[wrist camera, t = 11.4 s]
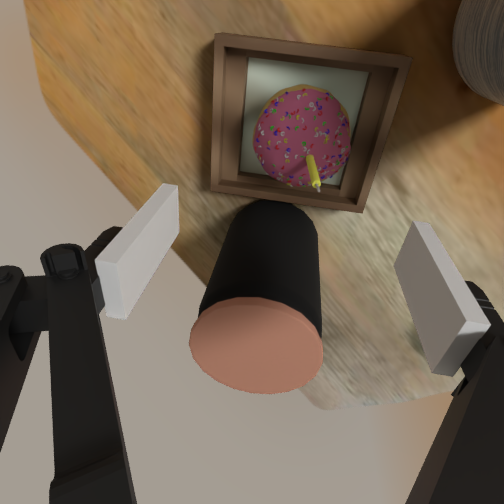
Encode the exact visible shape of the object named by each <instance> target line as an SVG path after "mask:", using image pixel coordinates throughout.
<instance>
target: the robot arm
mask: <svg viewBox="0 0 504 504" xmlns="http://www.w3.org/2000/svg"><path fill="white" fill-rule="evenodd" d="M178 234H179V206H178V186H177V185H171V184H164V183H163V184H162V185H161V186H160V187H159V188H158V189H157V191H156V192H155V193H154V194H153V195H152V196H151V197H150V198H149V200H148V201H147V202H146V203H145V204H144V205H143V206H142V207H141V208H140V210H139V211H138V212H137V213H136V214H135V215H134V216H133V218H132V219H131V220H130V221H129V222H128V223H127V224H126V225H125V226H124V228H122V227H115V226H113V227H111V228H109V229H107V230H105V231H103V232H102V233H101V235H100V236H99V237H98V238H97V240H95V241H94V242H93V243H92V244H91V245H90V246H89V247H88V248H87V249H86V250H85V251H84V250H83V249H82V247H81V246H79V245H76V244H70V243H68V244H59V245H55V246H52V247H50V248H49V249H46V250H45V251H44V252H43V253H42V254H41V257H40V260H41V263H42V265H43V269H44V272H45V276H27V277H25V276H24V274H23V271H22V270H21V269H20V268H19V267H16V266H9V265H6V266H1V267H0V452H1V448H2V446H3V443H4V440H5V437H6V434H7V431H8V428H9V425H10V422H11V419H12V416H13V413H14V410H15V407H16V404H17V402H18V398H19V396H20V392H21V390H22V386H23V383H24V381H25V378H26V375H27V372H28V369H29V366H30V363H31V360H32V357H33V354H34V351H35V348H36V345H37V342H38V340H39V337H40V334H41V331H49V350H50V370H51V371H50V373H51V396H52V418H53V442H54V465H55V476H54V479H53V481H52V482H51V484H50V490H49V504H137V501H136V497H135V492H134V487H133V482H132V477H131V472H130V467H129V462H128V457H127V452H126V447H125V442H124V437H123V432H122V427H121V422H120V417H119V412H118V407H117V402H116V397H115V392H114V387H113V382H112V377H111V372H110V367H109V362H108V357H107V352H106V347H105V342H104V337H103V332H102V327H101V322H100V318H99V313H100V312H101V310H102V309H103V307H104V306H105V311H106V315H107V317H111V318H117V319H123V320H126V319H127V317H128V316H129V314H130V312H131V311H132V309H133V307H134V306H135V304H136V303H137V301H138V299H139V297H140V296H141V294H142V293H143V291H144V289H145V288H146V286H147V284H148V283H149V281H150V280H151V278H152V276H153V275H154V273H155V271H156V270H157V268H158V266H159V265H160V263H161V261H162V260H163V258H164V257H165V255H166V253H167V252H168V250H169V248H170V247H171V245H172V243H173V242H174V240H175V238H176V237H177V235H178ZM394 268H395V271H396V274H397V276H398V279H399V282H400V285H401V288H402V291H403V293H404V296H405V299H406V302H407V305H408V307H409V310H410V313H411V316H412V319H413V322H414V324H415V327H416V330H417V333H418V336H419V338H420V341H421V344H422V347H423V350H424V353H425V355H426V358H427V361H428V364H429V367H430V369H431V372H432V373H435V374H440V375H446V376H452V377H453V376H454V375H455V373H456V372H457V371H458V369H459V368H460V367H461V368H462V370H463V372H464V374H465V377H464V378H463V380H462V381H461V382H460V384H459V385H458V386H457V387H456V389H455V390H454V391H453V393H452V394H451V395H452V396H453V397H454V398H453V400H452V402H451V404H450V407H449V409H448V411H447V413H446V415H445V417H444V420H443V422H442V424H441V427H440V428H439V431H438V433H437V435H436V437H435V440H434V442H433V444H432V446H431V448H430V451H429V453H428V455H427V457H426V459H425V462H424V464H423V466H422V468H421V470H420V472H419V475H418V477H417V479H416V481H415V484H414V486H413V488H412V490H411V492H410V495H409V497H408V499H407V501H406V503H405V504H504V322H503V321H502V319H501V318H500V316H499V314H498V313H497V311H496V310H494V307H493V305H492V304H491V302H489V299H488V298H487V296H486V295H485V293H484V292H483V290H481V289H480V288H479V287H478V286H477V285H476V284H474V283H473V282H470V281H464V279H463V278H462V276H461V275H460V273H459V271H458V270H457V268H456V266H455V265H454V263H453V261H452V260H451V258H450V256H449V255H448V253H447V251H446V250H445V248H444V247H443V245H442V243H441V242H440V240H439V238H438V237H437V235H436V233H435V232H434V230H433V228H432V227H431V225H430V223H426V222H419V221H413V222H412V224H411V227H410V229H409V231H408V234H407V236H406V238H405V241H404V243H403V245H402V248H401V250H400V252H399V255H398V257H397V259H396V262H395V264H394Z"/></svg>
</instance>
